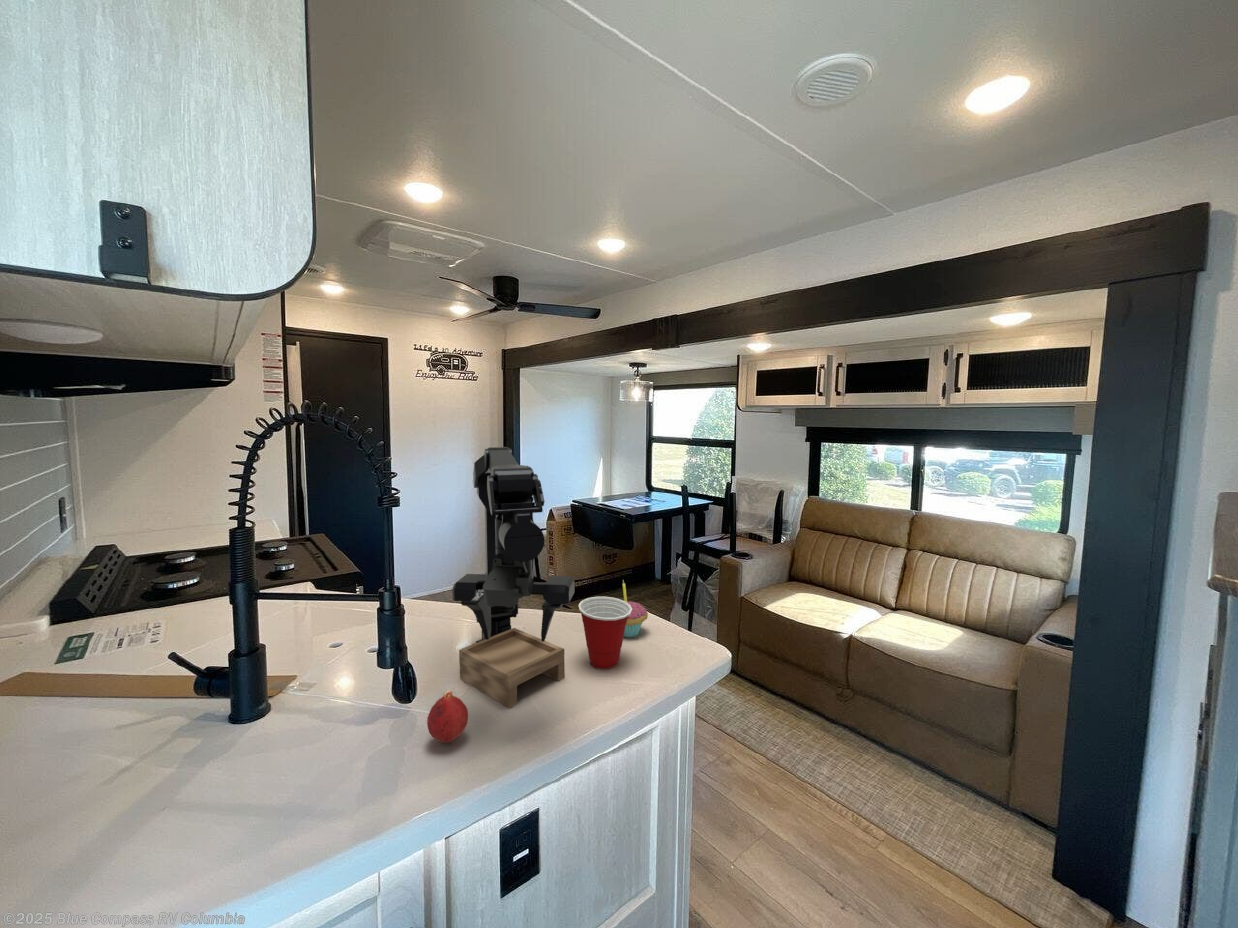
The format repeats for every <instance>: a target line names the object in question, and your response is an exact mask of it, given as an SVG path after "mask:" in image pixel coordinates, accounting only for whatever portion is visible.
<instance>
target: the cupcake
mask: <svg viewBox="0 0 1238 928" xmlns="http://www.w3.org/2000/svg"><path fill="white" fill-rule="evenodd" d="M626 587H627V586H626V583H625V581H624V579H622V593H623V601H625V602H627V603H628V604H630V606H631V608H632V611H631V613H630V615H629V616H628V619H627V622H626V626H625V631H624V637H623V638H634V637H636V636H638V635H639V632H640V629H641V627H642V624H643V623H644V622H645V621H646V620H648V618H649V617H648V614H649V613H648V611H647V608H645V607H644V605H642V604H640V603H638V602H635V601H629V600H628V597H627V589H626Z"/></svg>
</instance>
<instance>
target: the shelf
mask: <svg viewBox="0 0 1238 928" xmlns="http://www.w3.org/2000/svg"><path fill="white" fill-rule="evenodd" d="M458 655H459V656H458V657H459V659H458V661H459V679H460V680H461V681H463V682H465V683H466V684H468V685H469V686H472V687H473V688H475V689H477V690H478V691H480V692H482V693H483V694H484V695H486V696H488V697H490V698H492V699H494V700H495V701H497V702H499V703H500V704H502V705H503V706H505V707H507V708H508V709H511V708H513V707H515V706H516V705H517V704H518V691H517V690H518V688H517V687H518V686H519V685H521V684H523V683H525V682H526V681H528V680H531V679H532V678H534V677H537V676H538V675H540V674H543V675H545V676H547V677H549V678H551V679H553V680H555V681H558V682H559V681H561V680H563V679H565V677H566V675H565V674H566V673H565V671H566V670H565V669H566V668H565V667H566V666H565V660H566V659H565V648H564V647H561V646H558V645H556V644H554V643H551V642H549V641H547V640H545V641H544V642H542V640H541V638H540V637H536V636H534V635H533V634H531V633H528V632H525V631H523V630H520V629H518V628H516V627H513V628H512V627H511V629H510V630H507V631H505V632H502V633H500V634H497V635H495V636H493V637H490V638H489V640H486V639H485V640H483V641H480V642H478V643H476V642H475V643H473V644H470V645H468V646H465V647H463V648H461V649H458Z"/></svg>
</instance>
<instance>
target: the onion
mask: <svg viewBox="0 0 1238 928" xmlns="http://www.w3.org/2000/svg"><path fill="white" fill-rule="evenodd" d="M468 719H469V711H468V708H467V706H466V704H465V703H464V701H462V700H461V699H460V698H459V697H457V696H454V695H453V691H451V690H446V691H445V692H444V693H443V696H441V698H438V700H437V701H436V702H435V703H434V704H433V705H432V706H431V708H430V710H429V712H428V715H427V720H426V721H427V722H426V724H427V730H428V733H429V735H430V736H431V737H432V738H433V739H434V740H437V741H439V742H441V743H447V744H448V743H452V742H453V741H454V740H455V739H456V738H458V737H459V736H460V735H461V734H462V733H463V731H465V729H466V728H467V725H468Z"/></svg>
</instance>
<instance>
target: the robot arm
mask: <svg viewBox="0 0 1238 928" xmlns="http://www.w3.org/2000/svg"><path fill="white" fill-rule="evenodd" d="M512 449H513V448H511V447H510V448H509V447H508V446H502V447H501V446H500V447H499V446H496V447H490V446H489V447H487V448H484V451H483V453H484V454H483V455H481V456H480V457H479V458H478V459H477V460H475V462H474V463H473V472H472V476H473V477H472V481H473V488H474V489H476V494H477V497H478V498H479V500H480V501H481V503H482V505H483V506H484V526H485V527H484V531H485V532H484V533H485V535H484V537H485V545H484V546H485V573H466V574H464V576H463V577H461V578H460V579H459V580H457V581H456V582H455V583H454V584H453V586H452V589H451V593H452V596H451V597H452V598H451V599H452V601H454V602H460V604H461V606H463V607H467V608H468V609H470V610H471V611H472V612H473V614H474V615H475V620H476V622H477V623H478V624H479V626H480V629H481V639H479V640H476V641H475V643H478V642H480V641H483V640H485V639H486V640H489V638H490V637H493V636H495V635H497V634H500V633H502V632H505V631H507V630H510V629H512V625H511V623H512V622H511V619H512V618H517V615H519V603H520V599H522V598H523V597H527V598H528V597H530V596H531V595H535V596H536V595H537V596H540V595H542V596H543V597H542V598H543V600H544V602H542V605H541V610H542V619H541V620H542V621H541V631H540V635H541V638H540V639H541V640H542V642H544V641H546V638H547V635H548V632H549V629H550V626H551V624H552V619H553V618H554V614H555V611H556V609H561V608H562V606H563V605H567V604H570V603H571V600H572V599H573V596H574V594H575V589H576V588H575V580H574V579H573V577H572V576H566V575H550V576H549V578H548V579H547V581H546V582H542V581H541V582H538V581H534V575H535V574H534V573H535V572H534V571H533V560H535V559H536V558H537V557H538V556H539V555H540V554H541V552H542V551H543V548H544V547H545V536H544V533H543V531H542V529H541V527H539V526H538V525H537V524H536V523H535V521H534V515H533V514H536V513H537V514H539V513H543V511H544V509H543V507H544V506H545V502H546V501H545V498H544V492H543V488H542V487H543V486H542V483H541V480H540V479H539V477H538V474H537V473H534V470H533V468H532V467H531V466H528V465H525V464H524V465H523V464H519V463H518V461H516V459H515V457H514V455H513V451H512Z"/></svg>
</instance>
